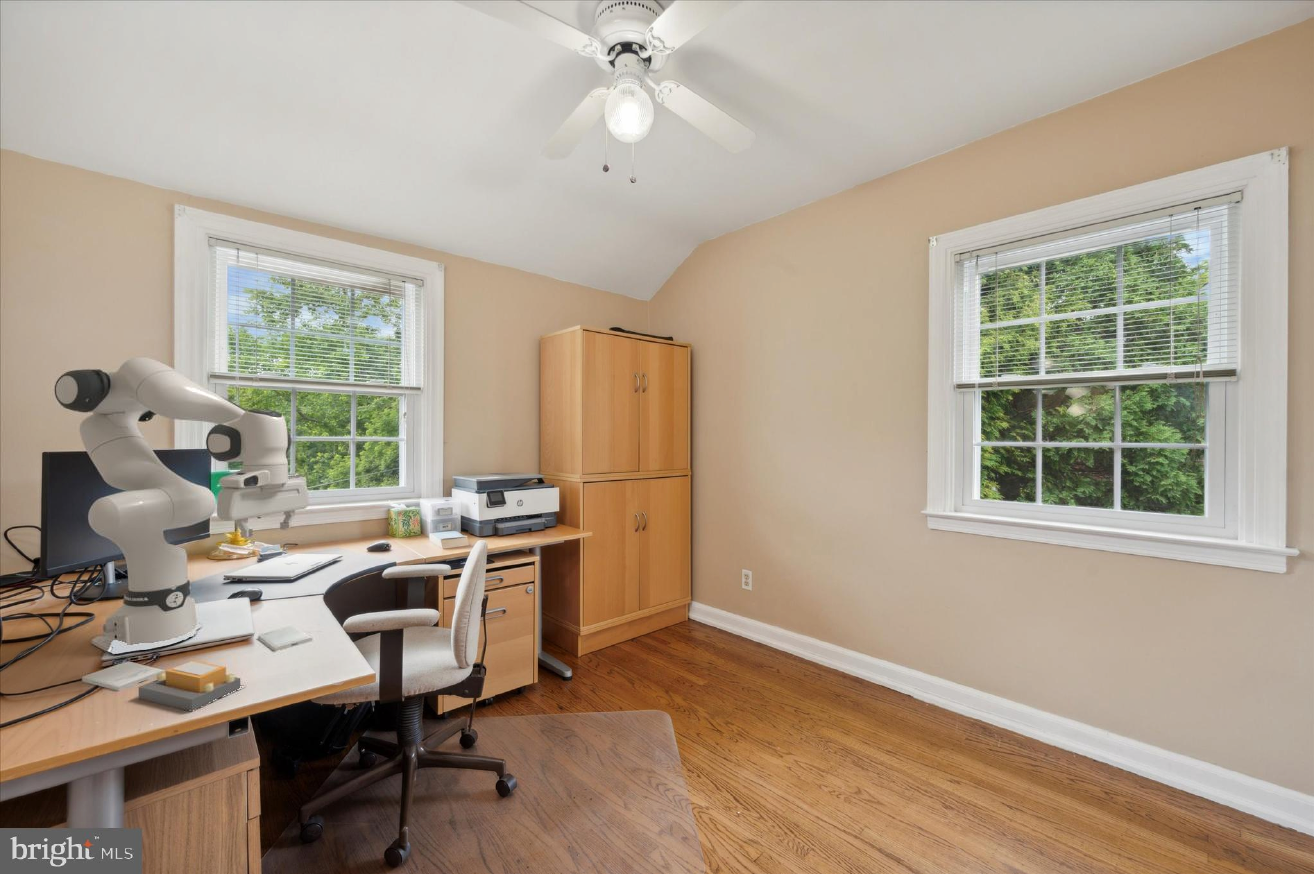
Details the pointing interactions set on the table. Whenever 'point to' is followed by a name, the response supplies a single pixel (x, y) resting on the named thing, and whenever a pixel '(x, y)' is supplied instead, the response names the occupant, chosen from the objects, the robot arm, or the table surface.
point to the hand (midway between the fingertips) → (266, 533)
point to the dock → (186, 693)
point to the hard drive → (284, 638)
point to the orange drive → (195, 676)
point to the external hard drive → (122, 675)
